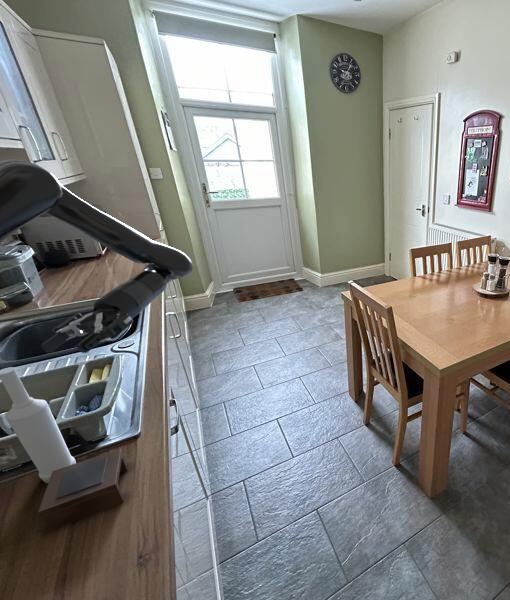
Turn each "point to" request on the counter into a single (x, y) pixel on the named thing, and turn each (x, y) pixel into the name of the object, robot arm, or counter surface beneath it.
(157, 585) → the counter surface
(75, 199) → the robot arm
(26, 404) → the bottle
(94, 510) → the dark wooden pedestal
